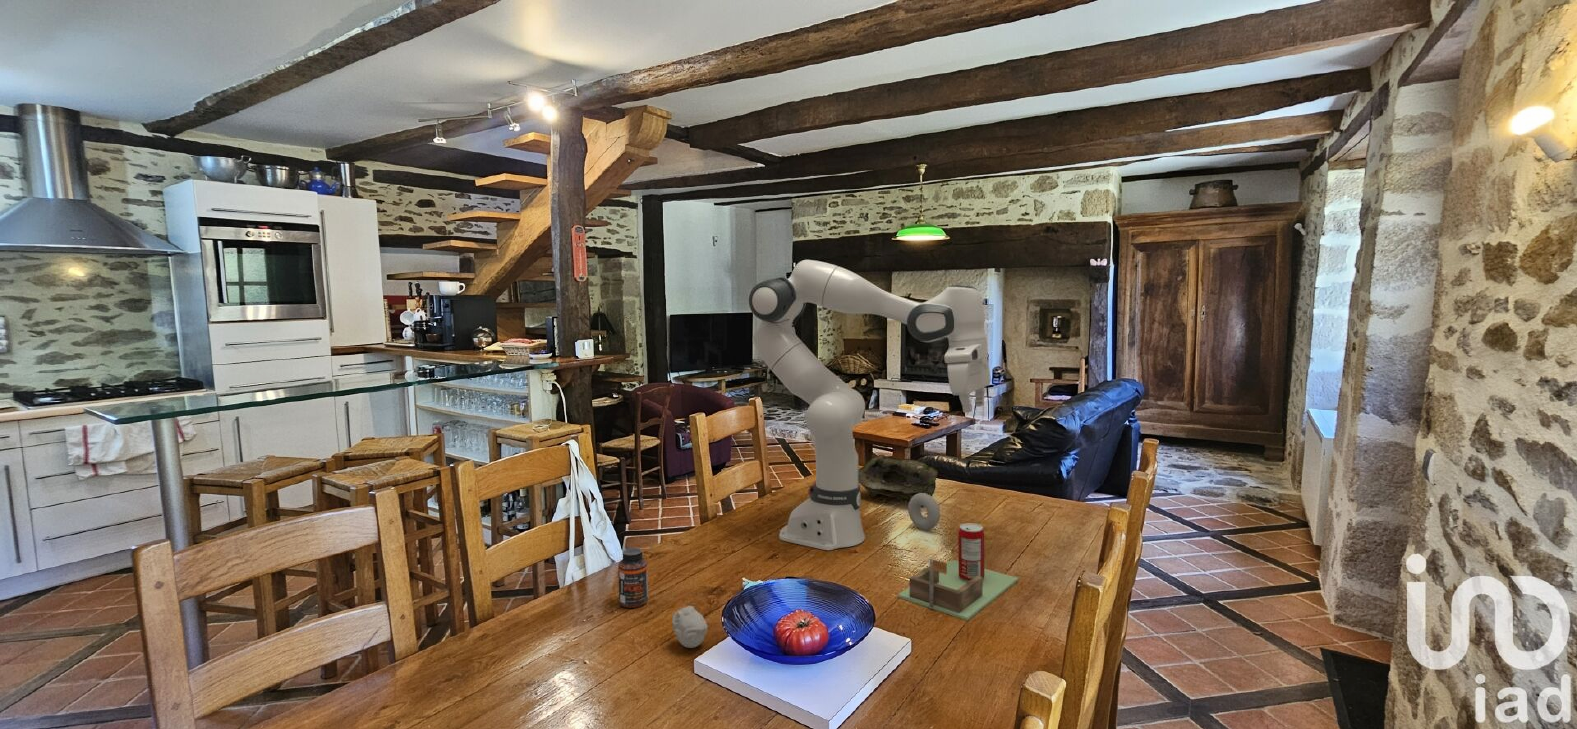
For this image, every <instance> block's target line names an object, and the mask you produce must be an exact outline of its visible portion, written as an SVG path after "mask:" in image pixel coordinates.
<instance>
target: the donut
mask: <svg viewBox="0 0 1577 729" xmlns="http://www.w3.org/2000/svg"><path fill="white" fill-rule="evenodd" d="M922 505H923V506H924V507H923V508H925V510H926V512H927V514H926V517H925V516H924V515H923V514H922V511H921V510H922V509H921V508H922V507H921V506H922ZM907 509H908V510H907V511H908V516H909V518H910V520H911V522H912V523H913V524H914V525H915V526H916V527H917V528H919V529H920V530H922V531H929V530H932V529H934V528H935V527H937V526H938V523H939V522H940V519H941V509H940V505H939V504H938V502H937V501H936V499H935V498H934V497H933V495H932V496H930V495H928V494H926V493H918V494H916V495H914V496H913V497H912V498H911V500H910V502H909V503H908V505H907Z"/></svg>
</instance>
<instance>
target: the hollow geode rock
mask: <svg viewBox="0 0 1577 729" xmlns="http://www.w3.org/2000/svg"><path fill="white" fill-rule="evenodd" d="M938 474H939V471H938V470H937V469H936V468H935V467H933V466H929V465H928V464H926V462H924V461H921V460H918V459H914V458H913V459H912V458H911V459H910V458H909V459H908V458H904V459H903V458H902V459H899V458H895V457H889V456H885V455H884V454H880V455H874V456H873V457H870V459H869V460H868V461H867V462H866V463H865V465H864V466H862V467H860V468H858V479H859V485H860V486H862V487H863V488H864V489H865V490H866V491H868V493H869V496H870V497H876V496H878V495H881V496H885V497H892V498H895V499H897V500H898V501H900V502H904V503H907V504H909V502H910V500H911V498H912V497H913V496H914V495H916V494H918V493H926V494H928V495H930V496H932V497H933V495H934V494H935V491H936V487H937V485H936V484H937V483H936V481H937V477H938ZM921 508H925V507H924V506H923V505H922V506H921Z"/></svg>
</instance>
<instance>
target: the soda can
mask: <svg viewBox="0 0 1577 729" xmlns="http://www.w3.org/2000/svg"><path fill="white" fill-rule="evenodd" d="M957 537H958V561H959V577H960V578H961V579H962V580H964V581H966V582H969V581H970V580H972V579H973V578H975V577H976V576H980V577H983V579H984V569H985V531H984V527H983V526H982V525H981V524H978V523H972V522H970V523H969V522H968V523H962V524H960V525H959V531H958V536H957Z"/></svg>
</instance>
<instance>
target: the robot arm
mask: <svg viewBox="0 0 1577 729" xmlns="http://www.w3.org/2000/svg"><path fill="white" fill-rule="evenodd" d="M807 303H810V304H814V305H817V306H820V307H822V308H824V309H827V310H830V311H835V312H839V313H842V314H849V315H850V314H851V315H853V314H854V315H856V314H861V315H862V314H864V315H865V314H867V315H868V314H869V315H877V316H881V317H884V318H887V319H889V320H892V321H895V322H899V323H901V324H904V325H906V327H907V330H908V333H909V334H910V335H911V336H912V337H913V338H914V339H915V340H918V341H920V342H924V343H932V342H940V341H943V340H945V339H948V349H947V351H946V352H945V354H944V357H943V358H944V363H945V364H947V368H946V369H947V377H948V384H949V389H950V392H951V394H952V395H953V396H958V397H959V400H960V403H961V407H962V411H963V413H971V412H972V411H973V407H972V406H973V404H972V403H971V393H973V392H975V398H974V406H975V407H982V406H984V405H985V399H984V398H985V388H986V387H988V386H989V385H990V384H991V372H990V366H989V360H988V358H989V348H988V341H987V340H988V338H987V334H986V332H985V331H986V330H985V323H986V322H985V321H986V317H985V309H984V302H983V298H982V294H981V292H980V290H978V289H977V288H976V287H974V286H971V285H961V284H959V285H958V284H957V285H955V284H952V285H949V286H947V287H945V289H944V290H943V291H941V292H940V293H938V294H937V295H936V296H934V297H932V298H931V299H928V300H926V301H924V302H918V301H915V300H912V299H908V298H906V297H903V296H899V295H897V294H894V293H891V292H889V291H886V290H883V289H882V288H881V287H878V286H877V285H875V284H874V283H872V282H871V281H868V280H867V279H865V278H864V277H862V276H860V275H859V274H857V273H855V272H853V271H851V270H849V269H846V268H844V267H842V266H838V265H836V264H832V263H828V262H824V261H820V260H815V259H813V260H812V259H804V260H801V261H799V262H798V263H797V264H796V265H795V267H794V268H793V270H792V271H791V274H790V276H789V277H788V278H786V277H784V276H781V277H777V278H772V279H771V278H770V279H767V280H766V279H765V280H763V281H761V282H759V283H757V284H756V285H754V287H752V289H751V291H750V292H749V296H748V306H749V308H750V311H751V312H752V314H753V315H754V316H755V317H756V318H758V319H759V320H761V323H760V325H759V326H758V327H757V328H756V330H755V331H754V334H753V335H752V343H753V346H754V347H755V349H756V351H757V353H758V354H759V355H760V357H761V359H762V361H764V363H765V364H766V365H767V367H768V368H769V370H771V372H772V373H773V374H774V375H775V376H776V377H777V378H778V380H780V382H781V383H782V384H783V385H784V387H785V388H787V389H788V391H789V392H790V393H792V395H794V396H797V397H799V398H800V399H801V400H803V401H804V402H806V403H807V404H808V405H809V406H808V408H807V410H806V413H805V418H804V419H805V423H806V424H805V425H806V427H807V429H808V431H809V433H810V434H811V440H812V444H813V448H814V449H813V451H814V456H815V471H816V472H815V481H813V483H812V484H811V485H810V486H809V488H808V489H807V495H809V498H807V499H806V500H804V501H803V502H802V503H800V504H799V505H798V506H796V507H795V508H794V509H793V510H792V511H791V512H790V515H789V518H788V521H787V524H786V525H785V526H783V527H782V529H781V530H780V531H779V535H778V538H779V540H780V541H784V542H787V543H792V544H796V545H797V544H798V545H801V546H806V547H810V548H815V549H819V550H822V551H823V550H824V551H832V550H835V549H839V548H841V549H842V548H848V547H853V546H856V545H859V544H862V543H863V542H864V541H865V539H866V536H865V532H864V529H863V528H864V527H863V525H862V519H861V518H862V517H861V510H860V508H861V503H862V500H861V499H862V495H861V494H862V492H861V484H859V479H858V470H859V455H858V452H857V450H856V445H855V442H854V436H853V432H854V431H853V430H854V429H853V428H854V427H855V426H857V425H858V424H859V423H860V422H861V420H862V419H863V418H864V414H865V410H866V402H865V399H864V397H863V395H862V394H861V393H860V392H859V391H858V390H856V389H854V388H852V387H850V386H849V385H848V384H847V383H846V382H845V381H843V380H842V379H841V378H840V377H839V376H837V375H836V374H835V373H834V372H832V371H831V370H830V369H829V368H828V367H826V366H825V365H824V364H823V363H822V362H821V361H820V359H818V357H817V356H816V355H815V354H814V353H813V352H812V351H811V350H810V349H809V348H808V346H807V345H806V344H805V343H804V342H803V341H802V340H801V339H800V338H799V337H798V335H797V334H796V333H795V332H794V330H793V328H794V327H796V326H797V323H798V321H799V319H800V317H801V316H802V314H803V313H804V310H805V308H806V306H807Z"/></svg>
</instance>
